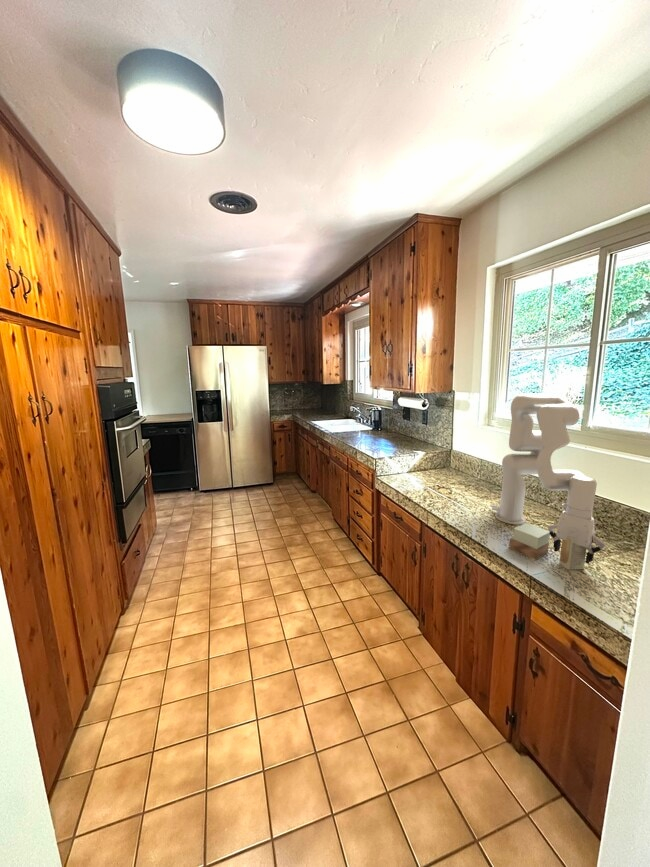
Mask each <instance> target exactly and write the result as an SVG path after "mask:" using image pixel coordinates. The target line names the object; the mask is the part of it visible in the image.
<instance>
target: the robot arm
mask: <svg viewBox="0 0 650 867" xmlns="http://www.w3.org/2000/svg"><path fill="white" fill-rule="evenodd" d="M510 415H511V425H510V430H509V437H508V438H509V439H508V447H509V449H510V450H511V451H514V452H520V453H509V454H506V455H505V456H504V457H503V458H502V461H501V467H502V485H501V493H500V504H499V505H496V504H492V505H491V510H492V511H496V513H495V515H494V516H495V518H496V519H497V520H498V521H500V522H501V523H505V524H510V525H515V526H517V525H518V526H520V525H523V524H525V523H527V519H526V517H525V516H523V513H524V505H525V498H526V496H525V495H526V488H527V485H526V481H525V479H524V478H523V475H538V476H537V477H538V480H539V482H540V484H541V486H542V487H543V488H544V489H546V490H547V491H554V492H555V491H566V492H567V497H566V503H561V506H560V507H561V508H564V510H563V511H562V512H561V513H560V517H559V520H558V523H557V524H550V525H547V531H549V532H550V536H551V538H552V540H553V544H552V546H553V548H554V550H553V552H555V553H556V552H559V551H561V545H562V540H565V541H567V536H568V537H569V536H570V537H573V538H575V540H574V544H576V545H579V546H582V547H586V548H587V549H586V556H585V564H587V565H588V564H590V563H592V562H593V561H594V556H595V553H597V552H600V551H602V549H603V548H604V547H606V546H607V544H606V542H604V541H602V540H601V539H600V538H598V537H597V536H596V535H595V518H594V517H593V511H594V505H595V497H596V492H597V486H598V485H597V484H598V483H597V481H596V480H595V479H594V478H593V477H590V476H587V475H585V474H584V473H583V472H581V471H579V470H576V469H553V467H552V462H551V460H552V459H551V458H552V456H553V454H554V452H555V451H557V450H559V449H561V448H565V447H566V446H568V445H569V444H570V442H571V439H570V435H569V432H568V429H567V426H574V425H576V424H577V423H578V422H579V419H580V412H579V410H578V408H577V407H576V406H575V405H574V404H573V403H572V402H569V401H568V400H567V399H565V398H563V397H561V396H559V395H558V394H552V393H548V394H547V393H546V394H545V393H523V394H520V395H519V394H518V395H516V396H515V397H514V398H513V399H512V401H511V404H510ZM531 415H536V419H537V423H538V427H539V430H538V429H537V430H535V429H533V428H534V419H533V417H532V416H531ZM521 452H526V453H521ZM527 452H530V453H527ZM555 529H556V531H555ZM594 542H595V543H596V544H597V545H598V546H594V545H593V543H594Z"/></svg>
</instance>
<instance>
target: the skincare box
mask: <svg viewBox="0 0 650 867" xmlns="http://www.w3.org/2000/svg"><path fill="white" fill-rule="evenodd" d="M574 540H575V538H573V537H570V536H569V537H568V536H567V541H565V540H562V539H561V545H560V556H559V564H560V565H561V566H562V567H563V568H565V569H566V570H571V571H572V570H584V569H585V564H586V563H585V562H586V555H587V548H586V547H582V546H579V545H576V544H574Z"/></svg>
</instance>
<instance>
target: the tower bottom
mask: <svg viewBox="0 0 650 867" xmlns="http://www.w3.org/2000/svg"><path fill="white" fill-rule="evenodd" d="M508 544H509V545H508V549H509V550H510V551H513V552H516V553H518V554H521V555H523V556H525V557H528V558H530V559H532V560H534V561H537V560H538V559H540V558H541V557H542V556H544V555H545V554H547V553H548V552H549V546H550V542H549V543H547V544H545V545H544V546H542V547H540V548H538V549H535V548H533V547H530V546H528V545H526V544H523V543H521V542H519V541H516V540H514V539H513V537H511V538H509V543H508Z"/></svg>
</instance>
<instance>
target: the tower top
mask: <svg viewBox="0 0 650 867" xmlns="http://www.w3.org/2000/svg"><path fill="white" fill-rule="evenodd" d="M512 534H513V536H512V538H513V539H514V540H516V541H519V542H521V543H523V544H526V545H528V546H530V547H533V548H535V549H538V548H540V547H542V546H544V545H545V544H547V543H549V544H550V536H551V535H550V532H549V530H548V529H547V530H546V529H544V528H541V527H539V526H536V525H533V524H531V523H528V522H525V523H524V524H520V525H518V526H516V527H514V528H513V533H512Z"/></svg>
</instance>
